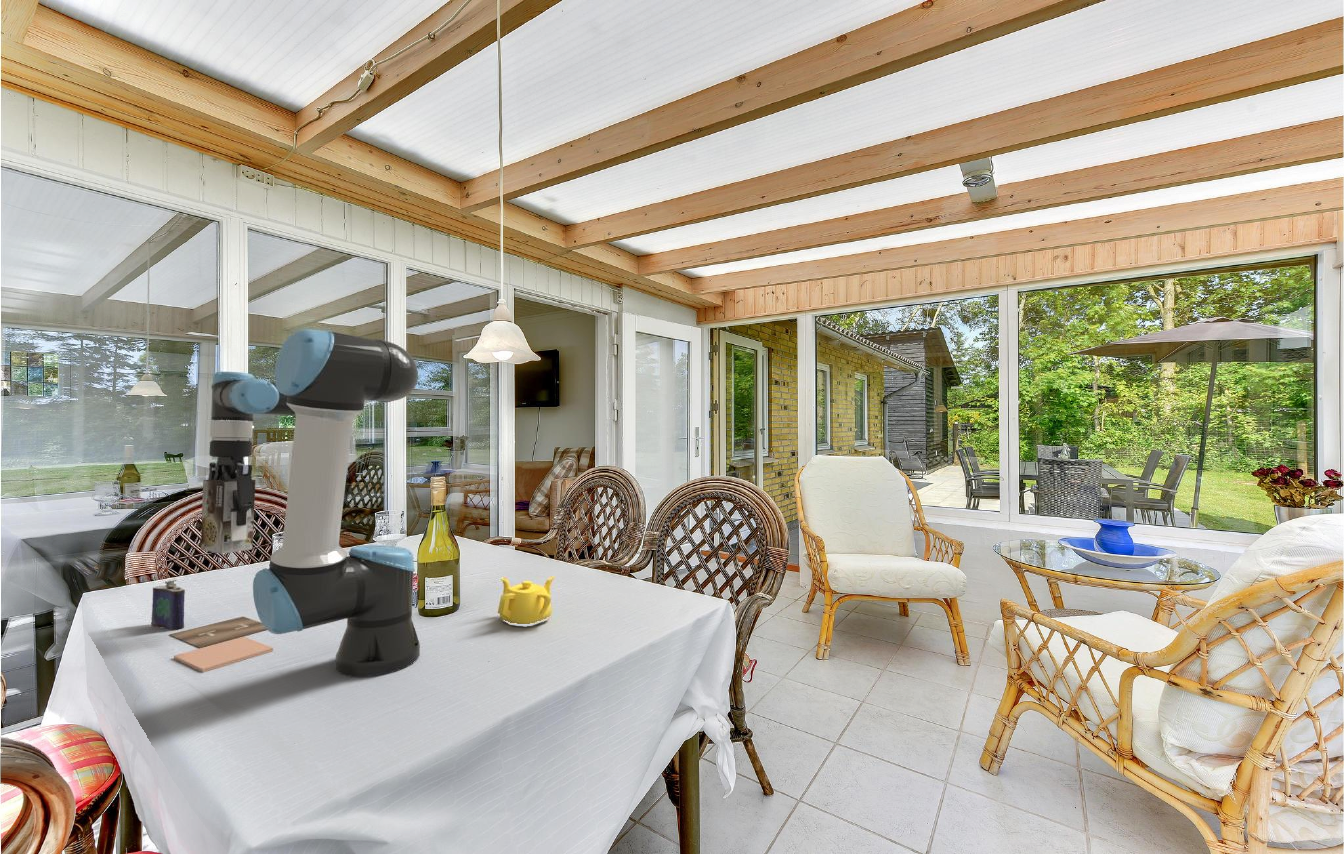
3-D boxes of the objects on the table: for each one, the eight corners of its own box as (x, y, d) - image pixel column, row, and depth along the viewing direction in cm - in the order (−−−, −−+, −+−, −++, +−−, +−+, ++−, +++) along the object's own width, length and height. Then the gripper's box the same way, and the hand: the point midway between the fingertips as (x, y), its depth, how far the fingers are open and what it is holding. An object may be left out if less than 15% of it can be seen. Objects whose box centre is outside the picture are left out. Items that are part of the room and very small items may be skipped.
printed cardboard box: (254, 549, 124) (257, 479, 124) (221, 554, 118) (224, 481, 118) (231, 544, 127) (235, 477, 128) (198, 549, 122) (202, 478, 122)
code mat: (274, 627, 125) (274, 626, 125) (199, 648, 113) (199, 646, 113) (243, 617, 132) (243, 616, 132) (169, 635, 119) (169, 634, 119)
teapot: (553, 611, 143) (554, 574, 143) (552, 629, 130) (553, 588, 130) (499, 613, 140) (501, 575, 140) (492, 631, 127) (494, 589, 127)
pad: (273, 650, 113) (273, 647, 113) (202, 672, 102) (202, 668, 102) (243, 639, 118) (243, 636, 118) (173, 658, 107) (173, 655, 108)
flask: (148, 625, 125) (150, 579, 125) (163, 621, 127) (166, 576, 128) (173, 631, 122) (176, 584, 122) (188, 627, 124) (191, 580, 125)
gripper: (275, 440, 121) (271, 540, 121) (227, 438, 131) (223, 530, 131) (236, 440, 115) (232, 545, 114) (188, 438, 125) (184, 534, 124)
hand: (227, 537), depth 123 cm, fingers closed on printed cardboard box, 9 cm apart
